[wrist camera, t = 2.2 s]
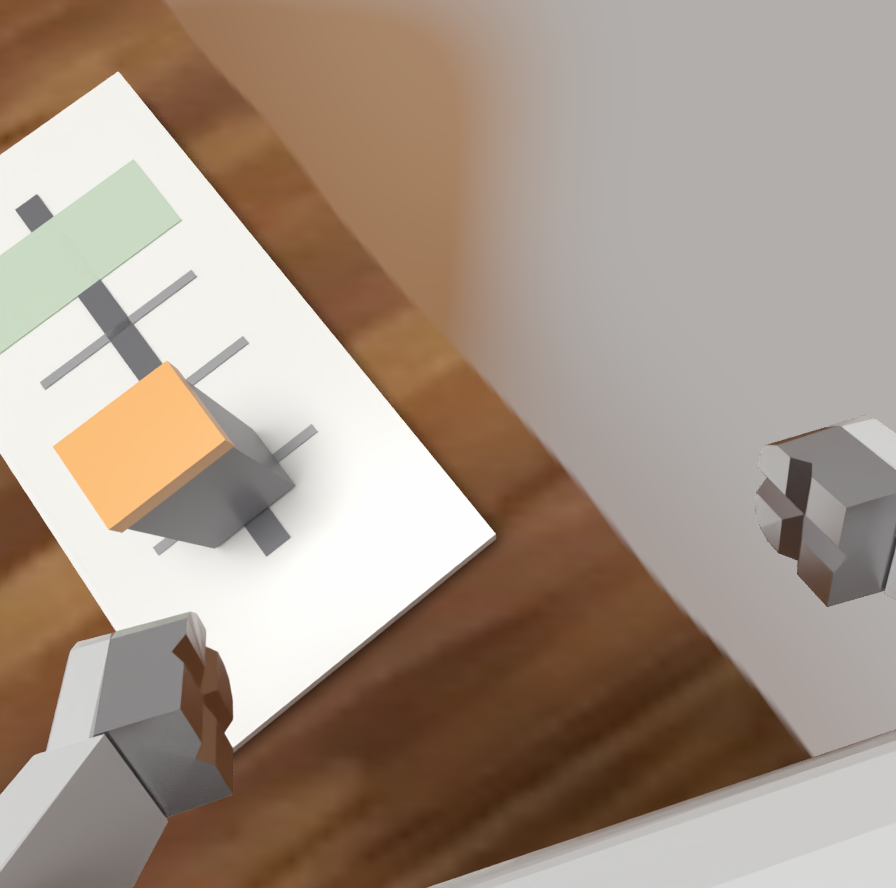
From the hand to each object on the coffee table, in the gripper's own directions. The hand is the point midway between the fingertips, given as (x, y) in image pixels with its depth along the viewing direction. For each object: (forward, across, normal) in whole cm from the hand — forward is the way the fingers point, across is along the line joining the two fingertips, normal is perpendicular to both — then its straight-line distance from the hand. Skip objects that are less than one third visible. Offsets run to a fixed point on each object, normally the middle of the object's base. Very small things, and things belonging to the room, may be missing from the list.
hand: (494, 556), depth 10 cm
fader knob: (+18, +7, +10) cm, 22 cm away
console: (+24, +9, +8) cm, 27 cm away
